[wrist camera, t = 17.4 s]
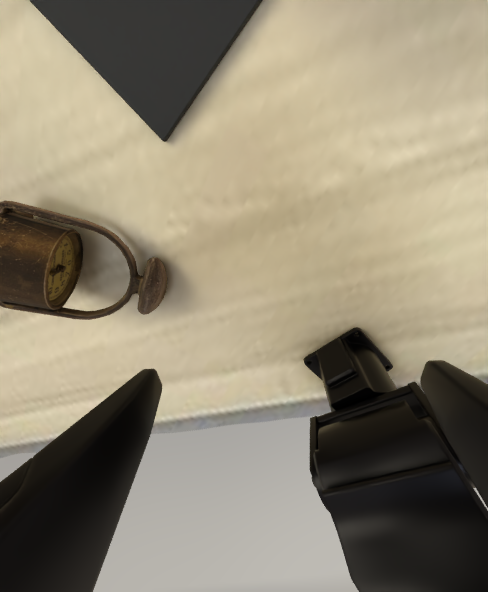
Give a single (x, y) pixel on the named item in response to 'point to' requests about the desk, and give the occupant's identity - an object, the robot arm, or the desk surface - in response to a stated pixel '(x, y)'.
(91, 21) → the felt pad
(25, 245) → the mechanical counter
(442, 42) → the desk surface
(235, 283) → the desk surface
